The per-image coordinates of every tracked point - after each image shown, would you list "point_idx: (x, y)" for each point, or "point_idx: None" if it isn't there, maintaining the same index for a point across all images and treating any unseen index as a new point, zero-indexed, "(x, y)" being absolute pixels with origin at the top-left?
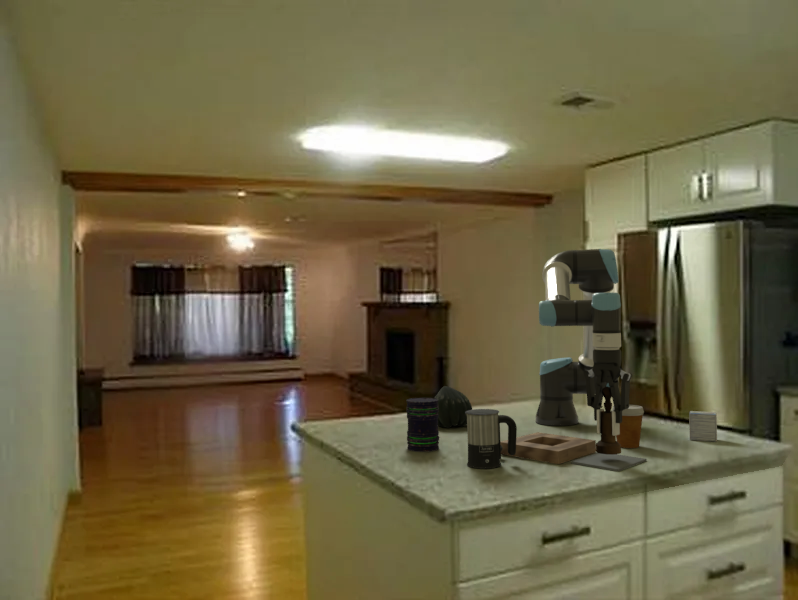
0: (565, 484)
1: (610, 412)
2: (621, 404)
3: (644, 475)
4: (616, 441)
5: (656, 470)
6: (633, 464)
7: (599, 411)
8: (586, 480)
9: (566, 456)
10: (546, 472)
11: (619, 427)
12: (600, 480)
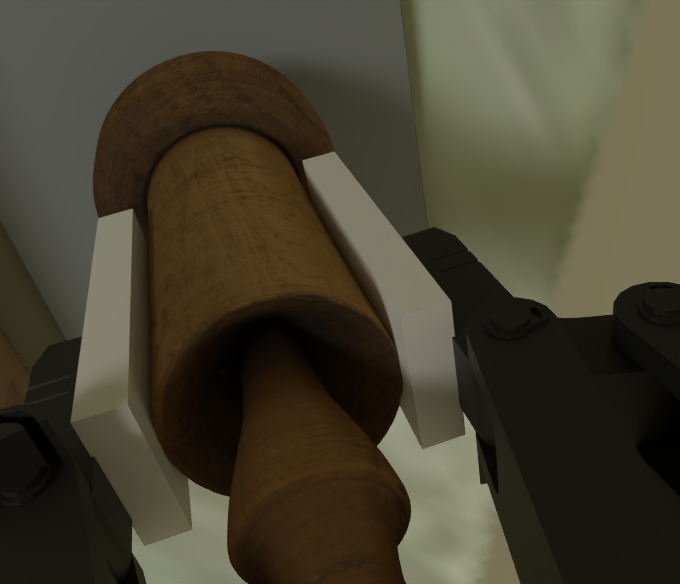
0: (411, 573)
1: (249, 317)
2: (664, 486)
3: (577, 212)
4: (266, 125)
5: (579, 43)
6: (405, 71)
7: (185, 500)
8: (428, 489)
9: (22, 397)
10: (207, 562)
11: (357, 183)
12: (470, 445)
